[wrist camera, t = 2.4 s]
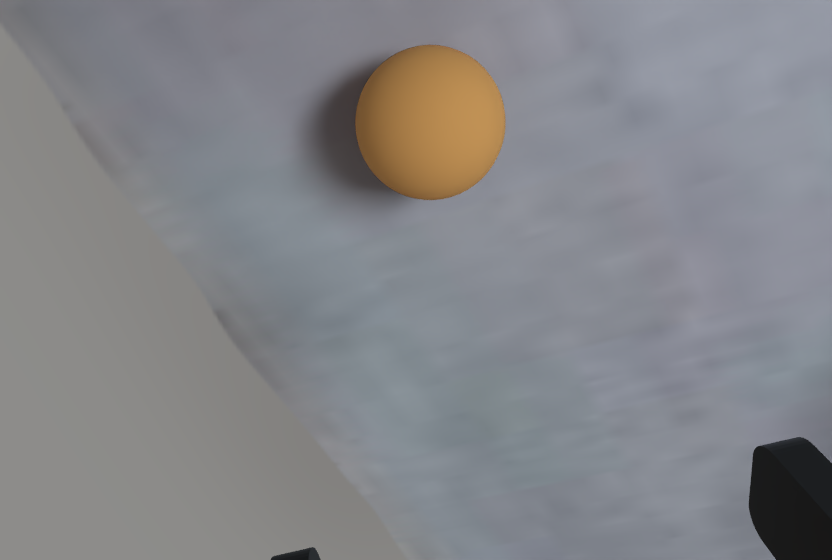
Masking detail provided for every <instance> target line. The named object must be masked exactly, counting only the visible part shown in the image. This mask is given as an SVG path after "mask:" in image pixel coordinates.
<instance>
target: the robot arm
mask: <svg viewBox="0 0 832 560" xmlns="http://www.w3.org/2000/svg"><path fill="white" fill-rule="evenodd" d="M749 510H750V515H751V518H752V521H753V524H754V526H755V529H756V531H757V533H758V534H759V536H760V538H761V539H762V541H763V542H764V544H765V545H766V546H767V548H768V549H769V550H770V552H771V553H772V555H773V556H774V557H775V559H776V560H832V463H831V462H830V461H829V460H828V459H827V458H826V457H825V456H824V455H823V454H822V453H821V452H820V451H819V450H818V449H817V448H816V447H815V446H814V445H813V444H812V443H811V442H809V441H808V440H806V439H804V438H801V437H796V438H792V439H788V440H783V441H779V442H775V443H770V444H766V445H762V446H758V447H756V448H755V450H754V453H753V462H752V473H751V485H750V496H749ZM271 560H320V558H319V555H318V553H317V551H316V549H315V548H313V547H312V548H307V549H303V550H299V551H295V552H290V553H286V554H281V555H277V556H274V557H272V558H271Z"/></svg>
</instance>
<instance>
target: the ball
mask: <svg viewBox="0 0 832 560" xmlns="http://www.w3.org/2000/svg"><path fill="white" fill-rule="evenodd" d="M355 128H356V136H357V141H358V144H359V148H360V151H361V153H362V156H363V158H364V160H365V162H366V163H367V165H368V167H369V168H370V169H371V171H372V172H373V173H374V174H375V175H376V176H377V177H378V178H379V179H380V181H381V182H383V183H384V184H385V185H386V186H388V187H389V188H391V189H392V190H394V191H396V192H398V193H400V194H402V195H405V196H408V197H412V198H416V199H423V200H437V199H444V198H449V197H452V196H455V195H458V194H460V193H462V192H464V191H466V190H468V189H469V188H471V187H472V186H474V185H475V184H476V183H477V182H479V181H480V180H481V179H482V178H483V177H484V176H485V175H486V173H487V172H488V171H489V170H490V168H491V167H492V165H493V164H494V162H495V160H496V158H497V156H498V154H499V152H500V149H501V147H502V143H503V139H504V134H505V111H504V105H503V101H502V97H501V94H500V92H499V90H498V87H497V86H496V84H495V82H494V80H493V79H492V77H491V76H490V75H489V73H488V72H487V71H486V70H485V68H484V67H482V66H481V65H480V64H479V63H478V62H477V61H476V60H474V59H473V58H472V57H470V56H469V55H467V54H465V53H463V52H461V51H458V50H455V49H452V48H450V47H445V46H440V45H423V46H416V47H412V48H408V49H406V50H403V51H401V52H398V53H397V54H395V55H393V56H391V57H390V58H388V59H387V60H386V61H384V62H383V63H382V64H381V65H380V66H379V67H378V68H377V69H376V70H375V71H374V72H373V74H372V75H371V76H370V77H369V79H368V81H367V82H366V84H365V86H364V88H363V90H362V93H361V95H360V98H359V101H358V105H357V110H356V117H355Z"/></svg>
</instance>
